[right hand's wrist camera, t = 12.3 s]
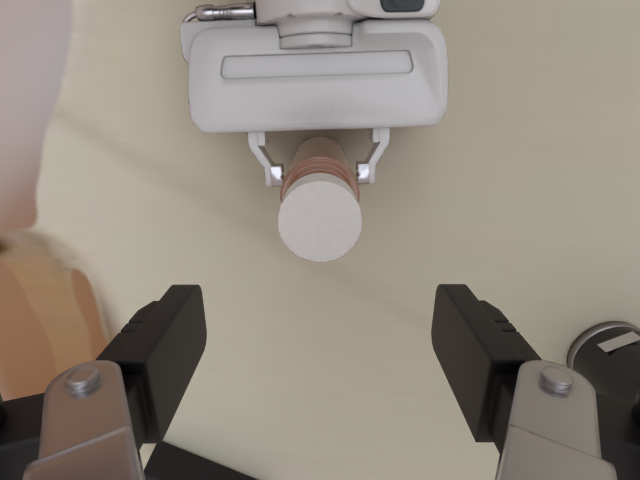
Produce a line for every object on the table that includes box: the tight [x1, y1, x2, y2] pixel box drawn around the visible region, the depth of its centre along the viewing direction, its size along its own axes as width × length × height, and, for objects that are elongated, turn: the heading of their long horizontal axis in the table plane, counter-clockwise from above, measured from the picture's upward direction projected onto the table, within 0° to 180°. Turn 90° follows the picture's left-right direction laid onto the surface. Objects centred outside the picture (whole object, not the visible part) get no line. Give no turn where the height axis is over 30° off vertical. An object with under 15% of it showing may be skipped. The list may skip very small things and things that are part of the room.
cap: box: [278, 173, 362, 262], centre depth 21 cm, size 4×4×2 cm
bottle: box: [281, 136, 359, 204], centre depth 29 cm, size 5×5×20 cm
